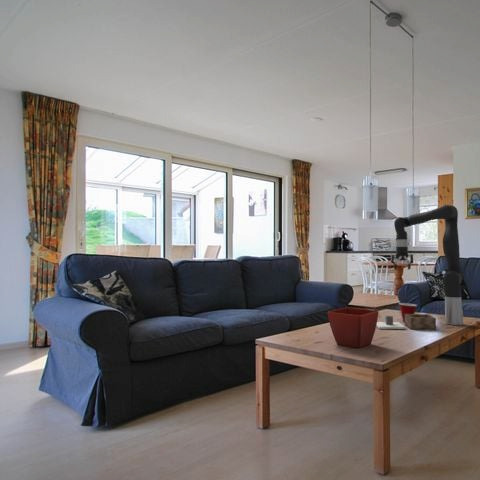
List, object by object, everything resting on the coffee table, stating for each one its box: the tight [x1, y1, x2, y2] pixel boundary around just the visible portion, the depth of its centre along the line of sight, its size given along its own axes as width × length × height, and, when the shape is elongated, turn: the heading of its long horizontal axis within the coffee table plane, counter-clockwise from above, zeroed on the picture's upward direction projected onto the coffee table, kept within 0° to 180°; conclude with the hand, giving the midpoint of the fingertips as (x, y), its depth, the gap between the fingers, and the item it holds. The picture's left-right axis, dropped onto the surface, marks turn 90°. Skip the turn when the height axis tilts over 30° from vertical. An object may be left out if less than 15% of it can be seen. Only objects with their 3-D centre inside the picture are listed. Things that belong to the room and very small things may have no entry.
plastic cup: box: [398, 302, 418, 323], centre depth 270 cm, size 11×11×12 cm
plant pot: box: [327, 307, 379, 349], centre depth 211 cm, size 19×19×17 cm
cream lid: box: [376, 315, 406, 330], centre depth 254 cm, size 15×15×7 cm
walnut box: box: [404, 313, 437, 331], centre depth 252 cm, size 14×14×7 cm
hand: (402, 269), depth 287 cm, fingers open, 8 cm apart
